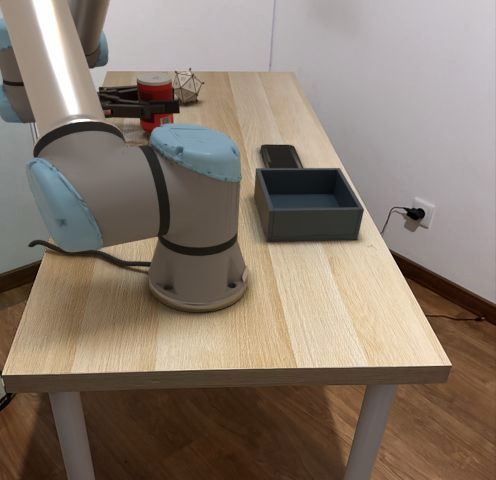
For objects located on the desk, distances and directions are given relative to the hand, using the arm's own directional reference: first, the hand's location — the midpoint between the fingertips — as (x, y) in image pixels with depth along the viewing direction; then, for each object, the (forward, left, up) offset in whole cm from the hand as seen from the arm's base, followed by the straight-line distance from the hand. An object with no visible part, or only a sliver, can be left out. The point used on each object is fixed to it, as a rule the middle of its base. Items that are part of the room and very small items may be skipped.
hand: (176, 100), depth 122 cm
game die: (+3, +23, -8) cm, 24 cm away
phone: (+22, -16, -8) cm, 29 cm away
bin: (+22, -40, -8) cm, 47 cm away
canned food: (-5, 0, -6) cm, 8 cm away
